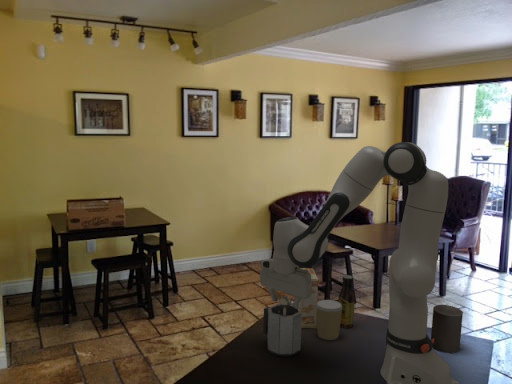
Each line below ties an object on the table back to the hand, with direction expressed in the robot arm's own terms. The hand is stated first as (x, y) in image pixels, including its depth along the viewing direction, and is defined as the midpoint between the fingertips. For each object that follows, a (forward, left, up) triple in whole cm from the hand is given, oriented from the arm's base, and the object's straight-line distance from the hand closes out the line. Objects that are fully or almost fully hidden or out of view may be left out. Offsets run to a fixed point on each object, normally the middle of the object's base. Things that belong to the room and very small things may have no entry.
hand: (284, 304), depth 153 cm
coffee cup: (-5, -20, -16) cm, 26 cm away
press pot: (+1, 0, -16) cm, 16 cm away
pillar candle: (-40, -41, -16) cm, 60 cm away
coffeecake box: (+9, -25, -16) cm, 31 cm away
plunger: (0, 0, -11) cm, 11 cm away
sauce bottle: (-5, -32, -16) cm, 36 cm away
